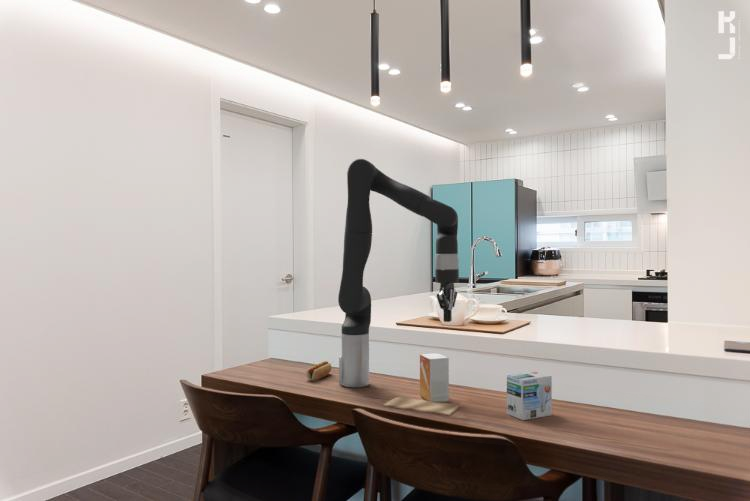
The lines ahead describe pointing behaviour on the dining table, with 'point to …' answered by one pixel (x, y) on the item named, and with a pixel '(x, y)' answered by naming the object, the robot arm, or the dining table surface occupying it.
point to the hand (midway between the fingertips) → (447, 321)
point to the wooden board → (422, 406)
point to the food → (318, 371)
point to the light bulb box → (529, 395)
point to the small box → (434, 377)
